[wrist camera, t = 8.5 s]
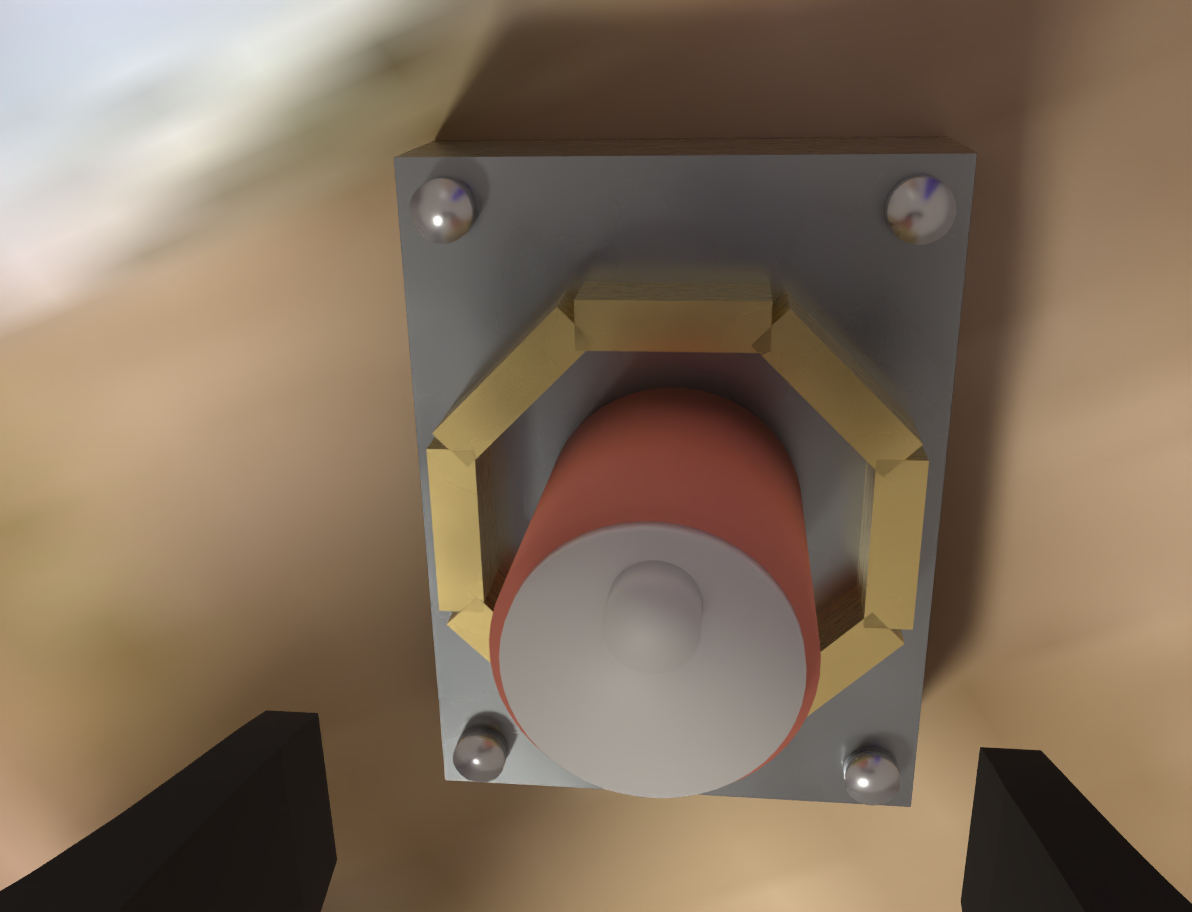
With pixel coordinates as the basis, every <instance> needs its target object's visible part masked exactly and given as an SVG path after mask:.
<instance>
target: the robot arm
mask: <svg viewBox="0 0 1192 912" xmlns="http://www.w3.org/2000/svg"><path fill="white" fill-rule="evenodd" d="M336 861H337V856H336V849H335V841H334V833H333V826H332V818H331V810H330V802H329V795H328V787H327V779H326V771H325V764H324V756H323V748H322V741H321V733H320V725H319V717H318V713H303V712H284V711H265V712H263V713H262V714H260V715H259V716H257V717H255V718H254V719H252V720H251V721H249V722H248V723H246V724H245V725H244V726H242V727H241V728H239V729H238V730H237V731H235V732H234V733H232V734H231V735H229V736H228V737H227V738H225V739H224V740H223V741H221V742H220V743H218V744H217V745H216V746H214V747H213V748H212V749H210V750H209V751H208V752H206V753H205V754H203V755H202V756H201V757H199V758H198V759H197V760H195V761H194V762H192V763H191V764H190V765H188V766H187V767H186V768H184V769H183V770H182V771H180V772H179V773H177V774H176V775H175V776H173V777H172V778H170V779H169V780H168V781H166V782H165V783H163V784H162V785H161V786H159V787H158V788H156V789H155V790H154V791H152V792H151V793H149V794H148V795H147V796H145V797H144V798H142V799H141V800H140V801H138V802H137V803H135V804H134V805H133V806H131V807H130V808H128V809H127V810H126V811H124V812H123V813H121V814H120V815H118V816H117V817H115V818H114V819H112V820H111V821H109V822H108V823H106V824H105V825H103V826H102V827H100V828H99V829H97V830H96V831H94V832H93V833H91V834H90V835H88V836H87V837H85V838H84V839H82V840H81V841H79V842H77V843H76V844H74V845H73V846H71V847H70V848H68V849H67V850H65V851H64V852H62V853H61V854H59V855H58V856H56V857H55V858H53V859H52V860H50V861H49V862H47V863H46V864H44V865H43V866H41V867H39V868H38V869H36V870H35V871H33V872H31V873H30V874H28V875H27V876H25V877H23V878H22V879H20V880H18V881H17V882H15V883H13V884H12V885H10V886H8V887H6V888H5V889H3V890H1V891H0V912H321V909H322V906H323V903H324V900H325V896H326V893H327V890H328V887H329V884H330V880H331V877H332V874H333V871H334V868H335V865H336ZM961 906H962V912H1192V904H1191V903H1190V902H1189V901H1188V900H1187V899H1186V898H1185V897H1184V896H1183V895H1182V894H1181V893H1180V892H1179V891H1177V890H1176V889H1175V888H1174V887H1173V886H1172V885H1171V884H1170V883H1169V882H1168V881H1167V880H1166V879H1165V878H1164V877H1163V876H1162V875H1161V874H1160V873H1159V872H1158V871H1157V870H1156V869H1155V868H1154V867H1153V866H1152V865H1151V864H1150V863H1149V862H1148V861H1147V860H1146V859H1145V858H1144V857H1143V856H1142V855H1141V854H1140V853H1139V852H1138V851H1137V850H1136V849H1135V848H1134V847H1133V846H1132V845H1131V844H1130V843H1129V842H1128V841H1127V840H1126V839H1125V838H1124V837H1123V836H1122V835H1121V834H1120V833H1119V832H1118V831H1117V830H1116V829H1115V828H1114V827H1113V826H1112V825H1111V824H1110V823H1109V822H1108V821H1107V819H1106V818H1105V817H1104V816H1103V815H1102V814H1101V813H1100V812H1099V811H1098V810H1097V809H1096V808H1095V807H1094V806H1093V805H1092V804H1091V803H1090V802H1089V801H1088V800H1087V798H1086V797H1085V796H1084V795H1083V794H1082V793H1081V792H1080V791H1079V790H1078V789H1077V788H1076V787H1075V786H1074V785H1073V784H1072V783H1071V782H1070V780H1069V779H1068V778H1067V777H1066V776H1065V775H1064V774H1063V773H1062V772H1061V771H1060V770H1059V769H1058V768H1057V767H1056V766H1055V765H1054V764H1053V762H1052V761H1051V760H1050V759H1049V758H1048V757H1047V756H1046V755H1045V754H1044V753H1043V752H1042V751H1041V750H1023V749H1004V748H984V747H980V753H979V761H978V769H977V777H976V785H975V793H974V801H973V809H972V817H971V825H970V833H969V841H968V848H967V856H966V864H965V872H964V880H963V888H962V896H961Z"/></svg>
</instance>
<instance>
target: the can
mask: <svg viewBox="0 0 1192 912" xmlns="http://www.w3.org/2000/svg"><path fill="white" fill-rule="evenodd" d="M489 651H490V663H491V667H492V672H493V677H494V681H495V683H496V686H497V689H498V692H499V695H500V697H501V699H502V701H503V703H504V705H505V707H506V709H507V711H508V712H509V714H510V716H511V717H512V719H513V720H514V721H515V723H516V724H517V726H518V727H519V729H520V730H521V731H522V732H523V733H524V734H525V735H526V737H527V738H528V739H529V740H530V741H531V742H532V743H533V744H534V745H535V746H536V747H537V748H538V749H539V750H541V751H542V752H543V753H544V754H545V755H546V756H547V757H549V758H550V759H551V760H552V761H553V762H555V763H556V764H558V765H559V766H561V767H562V768H563V769H565V770H566V771H568V772H569V773H571V774H573V775H575V776H577V777H579V778H580V779H582V780H584V781H586V782H588V783H591V784H593V785H596V786H598V787H601V788H603V789H607V790H610V791H614V792H617V793H621V794H626V795H632V796H637V797H647V798H677V797H685V796H691V795H698V794H701V793H705V792H709V791H712V790H716V789H718V788H721V787H723V786H726V785H728V784H731V783H733V782H736V781H738V780H741V779H743V778H744V777H746V776H748V775H750V774H751V773H753V772H755V771H757V770H759V769H760V768H761V767H763V766H764V765H765V764H767V763H768V762H769V761H771V760H772V759H773V758H775V757H776V756H777V755H778V754H779V753H780V752H781V751H782V750H783V749H784V748H785V747H786V746H787V745H788V744H789V742H790V741H791V740H792V739H793V737H794V736H795V735H796V733H797V732H798V731H799V730H800V728H801V726H802V724H803V723H804V721H805V719H806V717H807V715H808V714H809V711H810V709H811V706H812V704H813V701H814V698H815V696H816V692H817V687H818V683H819V678H820V665H821V652H820V641H819V632H818V624H817V616H816V608H815V600H814V592H813V584H812V576H811V568H810V560H809V552H808V544H807V536H806V529H805V521H804V513H803V505H802V497H801V489H800V485H799V481H798V476H797V473H796V470H795V468H794V465H793V463H792V460H791V458H790V457H789V455H788V453H787V451H786V450H785V448H784V446H783V444H782V443H781V442H780V441H779V439H778V438H777V437H776V435H775V434H774V433H773V432H772V431H771V430H770V429H769V428H768V427H767V426H766V425H765V424H764V423H763V422H762V421H761V420H760V419H759V418H757V417H756V416H755V415H753V414H752V413H751V412H750V411H748V410H747V409H745V408H743V407H741V406H740V405H738V404H736V403H734V402H733V401H730V400H728V399H726V398H723V397H721V396H718V395H715V394H712V393H708V392H705V391H701V390H695V389H688V388H657V389H648V390H644V391H640V392H636V393H632V394H629V395H626V396H624V397H621V398H619V399H616V400H614V401H612V402H610V403H609V404H607V405H605V406H603V407H601V408H600V409H599V410H597V411H596V412H594V413H593V414H592V415H590V416H589V417H588V418H587V419H586V420H585V421H584V422H583V423H582V424H580V425H579V426H578V427H577V429H576V430H575V431H574V432H573V434H572V435H571V436H570V437H569V439H568V440H567V442H566V443H565V445H564V447H563V448H562V450H561V452H560V454H559V456H558V458H557V461H556V463H555V465H554V468H553V470H552V472H551V475H550V477H549V479H548V482H547V484H546V486H545V489H544V491H543V493H542V496H541V498H540V500H539V503H538V505H537V507H536V510H535V512H534V514H533V517H532V519H531V521H530V524H529V526H528V528H527V531H526V533H525V535H524V538H523V540H522V542H521V545H520V547H519V549H518V552H517V554H516V556H515V559H514V561H513V563H512V566H511V568H510V570H509V573H508V575H507V577H506V580H505V582H504V584H503V587H502V589H501V592H500V594H499V596H498V599H497V601H496V604H495V607H494V611H493V615H492V619H491V624H490V635H489Z"/></svg>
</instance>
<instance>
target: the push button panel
mask: <svg viewBox="0 0 1192 912" xmlns="http://www.w3.org/2000/svg"><path fill="white" fill-rule="evenodd" d="M976 159H977V153H975V152H973V151H972V150H970V149H968V148H966V147H965V146H963V145H961V144H959V143H958V142H956V141H954V140H952V139H950V138H949V137H875V138H757V139H638V140H519V141H432V142H430V143H427V144H425V145H423V146H420V147H418V148H415V149H413V150H411V151H408V152H406V153H403V154H401V155H399V156H396V157H394V166H395V178H396V190H397V202H398V215H399V227H400V239H401V251H402V263H403V275H404V287H405V299H406V311H407V323H408V335H409V348H410V360H411V372H412V384H413V396H414V408H415V420H416V432H417V444H418V456H419V469H420V481H421V493H422V505H423V517H424V529H425V541H426V553H427V565H428V577H429V589H430V602H431V614H432V626H433V638H434V650H435V662H436V674H437V686H438V698H439V710H440V722H441V735H442V747H443V759H444V771H445V780H453V781H471V782H479V783H484V782H488V783H505V784H523V785H540V786H557V787H575V788H592V789H603V788H601V787H598V786H596V785H593V784H591V783H588V782H586V781H584V780H582V779H580V778H579V777H577V776H575V775H573V774H571V773H569V772H568V771H566V770H565V769H563V768H562V767H561V766H559V765H558V764H556V763H555V762H553V761H552V760H551V759H550V758H549V757H547V756H546V755H545V754H544V753H543V752H542V751H541V750H539V749H538V748H537V747H536V746H535V745H534V744H533V743H532V742H531V741H530V740H529V739H528V738H527V737H526V735H525V734H524V733H523V732H522V731H521V730H520V729H519V727H518V726H517V724H516V723H515V721H514V720H513V719H512V717H511V716H510V714H509V712H508V711H507V709H506V707H505V705H504V703H503V701H502V699H501V697H500V695H499V692H498V689H497V686H496V683H495V681H494V677H493V672H492V667H491V663H490V651H489V635H490V624H491V619H492V615H493V611H494V607H495V604H496V601H497V599H498V596H499V594H500V592H501V589H502V587H503V584H504V582H505V580H506V577H507V575H508V573H509V570H510V568H511V566H512V563H513V561H514V559H515V556H516V554H517V552H518V549H519V547H520V545H521V542H522V540H523V538H524V535H525V533H526V531H527V528H528V526H529V524H530V521H531V519H532V517H533V514H534V512H535V510H536V507H537V505H538V503H539V500H540V498H541V496H542V493H543V491H544V489H545V486H546V484H547V482H548V479H549V477H550V475H551V472H552V470H553V468H554V465H555V463H556V461H557V458H558V456H559V454H560V452H561V450H562V448H563V447H564V445H565V443H566V442H567V440H568V439H569V437H570V436H571V435H572V434H573V432H574V431H575V430H576V429H577V427H578V426H579V425H580V424H582V423H583V422H584V421H585V420H586V419H587V418H588V417H589V416H590V415H592V414H593V413H594V412H596V411H597V410H599V409H600V408H601V407H603V406H605V405H607V404H609V403H610V402H612V401H614V400H616V399H619V398H621V397H624V396H626V395H629V394H632V393H636V392H640V391H644V390H648V389H657V388H688V389H695V390H701V391H705V392H708V393H712V394H715V395H718V396H721V397H723V398H726V399H728V400H730V401H733V402H734V403H736V404H738V405H740V406H741V407H743V408H745V409H747V410H748V411H750V412H751V413H752V414H753V415H755V416H756V417H757V418H759V419H760V420H761V421H762V422H763V423H764V424H765V425H766V426H767V427H768V428H769V429H770V430H771V431H772V432H773V433H774V434H775V435H776V437H777V438H778V439H779V441H780V442H781V443H782V444H783V446H784V448H785V450H786V451H787V453H788V455H789V457H790V458H791V460H792V463H793V465H794V468H795V470H796V473H797V476H798V481H799V485H800V489H801V497H802V505H803V513H804V521H805V529H806V536H807V544H808V552H809V560H810V568H811V576H812V584H813V592H814V600H815V608H816V616H817V624H818V632H819V641H820V652H821V665H820V678H819V683H818V687H817V692H816V696H815V698H814V701H813V704H812V706H811V709H810V711H809V714H808V715H807V717H806V719H805V721H804V723H803V724H802V726H801V728H800V730H799V731H798V732H797V733H796V735H795V736H794V737H793V739H792V740H791V741H790V742H789V744H788V745H787V746H786V747H785V748H784V749H783V750H782V751H781V752H780V753H779V754H778V755H777V756H776V757H775V758H773V759H772V760H771V761H769V762H768V763H767V764H765V765H764V766H763V767H761V768H760V769H759V770H757V771H755V772H753V773H751V774H750V775H748V776H746V777H744V778H743V779H741V780H738V781H736V782H733V783H731V784H728V785H726V786H723V787H721V788H718V789H716V790H712V791H709V792H705V793H701V794H698V795H713V796H731V797H748V798H766V799H783V800H800V801H818V802H835V803H852V804H866V805H887V806H904V807H911V799H912V790H913V780H914V770H915V760H916V750H917V740H918V730H919V721H920V711H921V701H922V691H923V681H924V671H925V661H926V652H927V642H928V632H929V622H930V612H931V602H932V592H933V583H934V573H935V563H936V553H937V543H938V533H939V523H940V514H941V504H942V494H943V484H944V474H945V464H946V454H947V445H948V435H949V425H950V415H951V405H952V395H953V385H954V375H955V366H956V356H957V346H958V336H959V326H960V316H961V306H962V297H963V287H964V277H965V267H966V257H967V247H968V237H969V228H970V218H971V208H972V198H973V188H974V178H975V168H976Z"/></svg>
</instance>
